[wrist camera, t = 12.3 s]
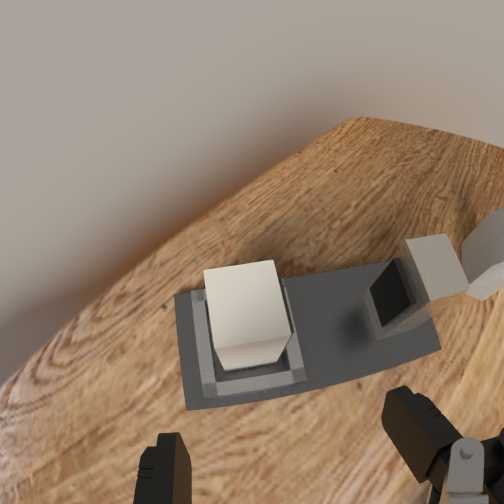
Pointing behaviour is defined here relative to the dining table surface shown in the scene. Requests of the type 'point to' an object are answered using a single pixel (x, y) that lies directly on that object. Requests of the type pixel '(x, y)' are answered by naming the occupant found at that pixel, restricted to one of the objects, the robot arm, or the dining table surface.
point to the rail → (330, 327)
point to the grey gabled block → (485, 256)
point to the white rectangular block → (248, 314)
